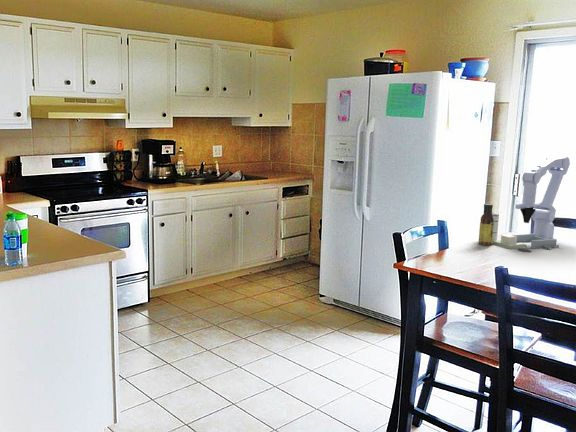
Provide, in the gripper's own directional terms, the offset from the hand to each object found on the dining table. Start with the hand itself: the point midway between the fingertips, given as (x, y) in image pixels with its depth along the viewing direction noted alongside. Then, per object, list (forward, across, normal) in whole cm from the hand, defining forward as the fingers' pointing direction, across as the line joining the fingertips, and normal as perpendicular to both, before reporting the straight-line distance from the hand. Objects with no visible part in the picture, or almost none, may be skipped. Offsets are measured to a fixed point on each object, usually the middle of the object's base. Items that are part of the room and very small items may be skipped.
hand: (526, 222), depth 274 cm
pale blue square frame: (+10, 0, -5) cm, 11 cm away
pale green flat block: (+10, -14, -5) cm, 18 cm away
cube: (+10, -15, -5) cm, 19 cm away
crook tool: (+10, +3, -15) cm, 18 cm away
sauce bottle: (+10, -25, 0) cm, 27 cm away
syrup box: (+10, -17, +6) cm, 21 cm away
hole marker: (+10, -15, -15) cm, 23 cm away
